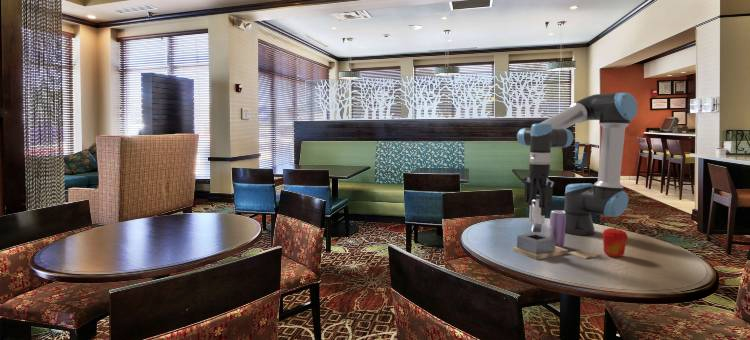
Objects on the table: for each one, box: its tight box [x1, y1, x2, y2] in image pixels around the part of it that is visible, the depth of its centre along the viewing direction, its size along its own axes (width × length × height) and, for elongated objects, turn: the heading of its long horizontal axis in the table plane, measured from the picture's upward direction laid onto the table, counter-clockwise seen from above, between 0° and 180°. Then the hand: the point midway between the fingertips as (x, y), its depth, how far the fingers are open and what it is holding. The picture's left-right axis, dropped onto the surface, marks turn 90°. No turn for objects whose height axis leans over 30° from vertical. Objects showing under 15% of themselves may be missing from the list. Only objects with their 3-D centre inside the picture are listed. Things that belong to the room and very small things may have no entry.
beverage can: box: [548, 209, 566, 249], centre depth 172 cm, size 6×6×15 cm
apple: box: [602, 226, 629, 258], centre depth 161 cm, size 9×8×12 cm
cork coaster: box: [568, 249, 598, 260], centre depth 162 cm, size 7×7×1 cm
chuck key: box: [530, 198, 543, 233], centre depth 163 cm, size 6×4×12 cm
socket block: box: [516, 232, 555, 255], centre depth 164 cm, size 10×10×5 cm
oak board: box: [512, 246, 569, 260], centre depth 165 cm, size 17×12×2 cm
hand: (536, 222), depth 163 cm, fingers closed on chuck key, 4 cm apart
